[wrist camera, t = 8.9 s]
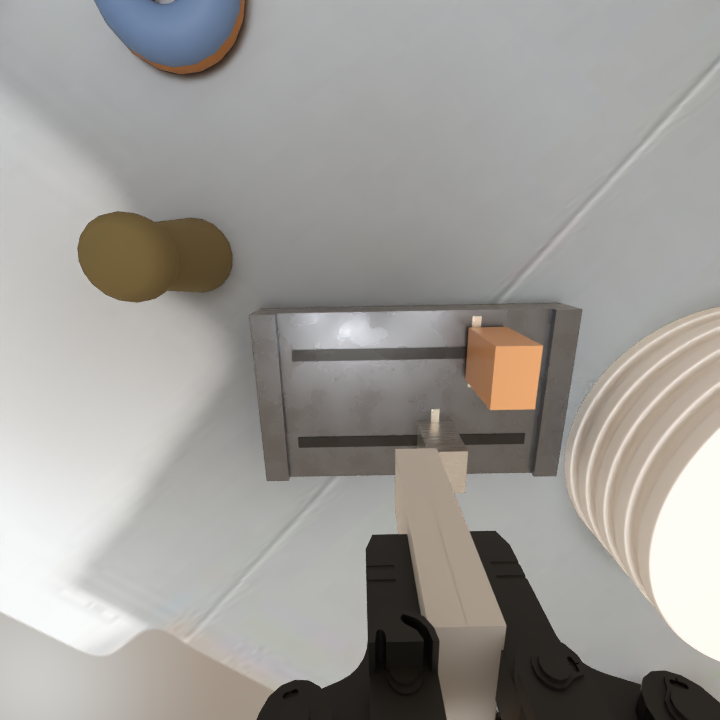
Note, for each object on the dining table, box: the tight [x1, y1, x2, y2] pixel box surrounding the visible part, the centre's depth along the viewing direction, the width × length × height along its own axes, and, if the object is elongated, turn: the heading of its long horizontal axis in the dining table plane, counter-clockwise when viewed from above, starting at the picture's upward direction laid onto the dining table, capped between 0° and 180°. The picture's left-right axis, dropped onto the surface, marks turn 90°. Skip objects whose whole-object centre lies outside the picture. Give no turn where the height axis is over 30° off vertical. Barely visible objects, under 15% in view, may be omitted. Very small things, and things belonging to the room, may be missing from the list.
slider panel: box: [249, 303, 582, 493], centre depth 30 cm, size 15×26×8 cm, turn 91°
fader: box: [465, 327, 543, 410], centre depth 27 cm, size 4×3×6 cm
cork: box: [78, 211, 232, 302], centre depth 26 cm, size 6×6×11 cm
